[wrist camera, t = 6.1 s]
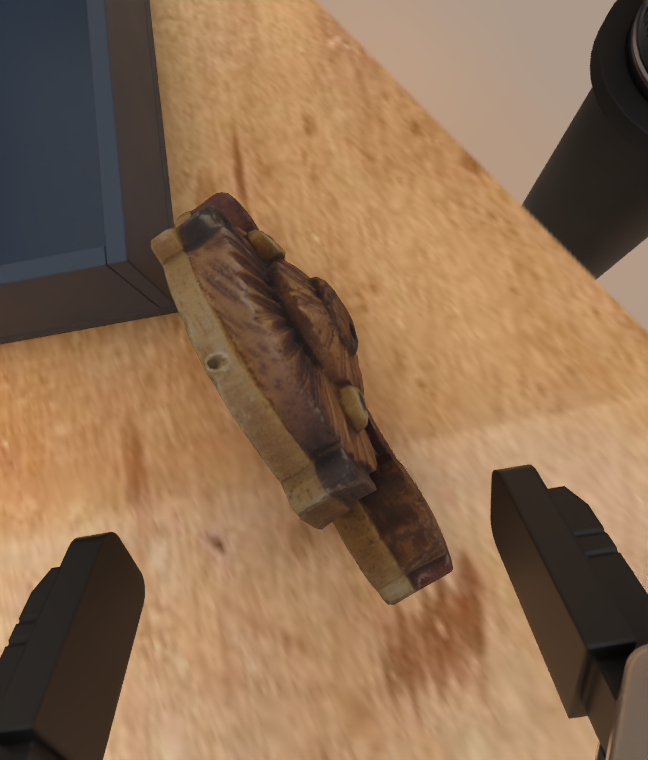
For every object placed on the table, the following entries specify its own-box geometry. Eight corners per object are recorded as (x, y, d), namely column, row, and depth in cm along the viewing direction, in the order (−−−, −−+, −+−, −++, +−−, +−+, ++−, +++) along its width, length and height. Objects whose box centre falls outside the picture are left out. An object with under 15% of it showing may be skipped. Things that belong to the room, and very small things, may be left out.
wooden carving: (470, 521, 21) (566, 565, 11) (383, 585, 21) (401, 687, 11) (260, 234, 24) (190, 72, 14) (182, 287, 24) (57, 159, 14)
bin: (144, -48, 28) (88, -181, 22) (183, 311, 24) (127, 260, 18) (-34, -9, 28) (-134, -130, 23) (-27, 349, 24) (-146, 311, 18)
